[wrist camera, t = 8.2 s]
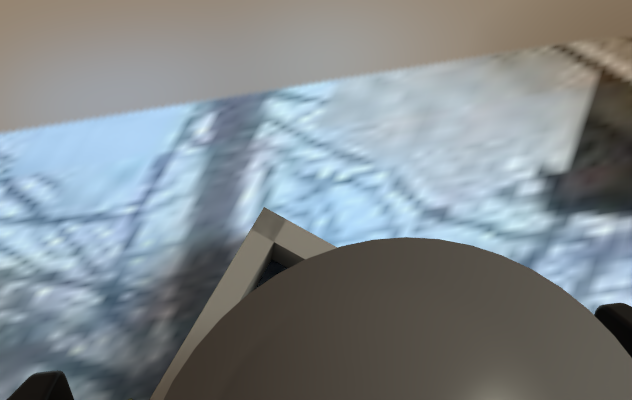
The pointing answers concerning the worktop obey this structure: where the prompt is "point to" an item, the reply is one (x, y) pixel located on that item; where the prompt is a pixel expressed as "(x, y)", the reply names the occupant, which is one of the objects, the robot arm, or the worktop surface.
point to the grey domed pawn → (407, 333)
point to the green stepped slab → (246, 278)
